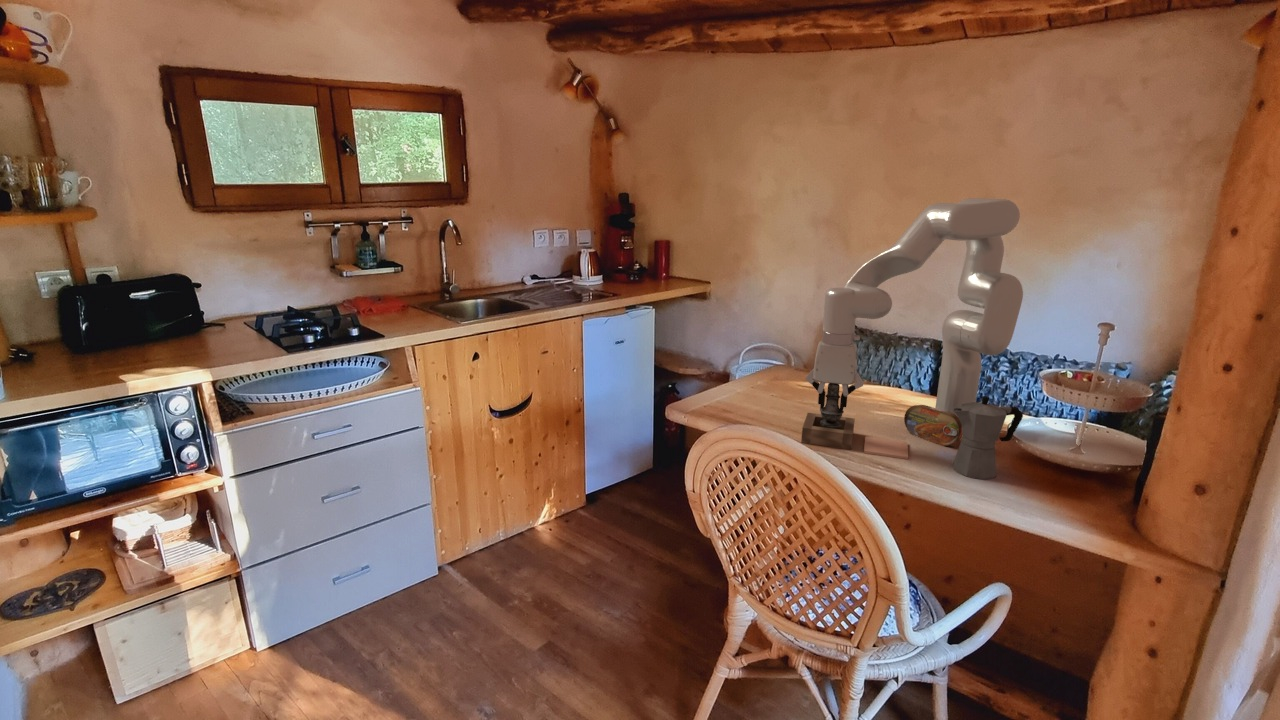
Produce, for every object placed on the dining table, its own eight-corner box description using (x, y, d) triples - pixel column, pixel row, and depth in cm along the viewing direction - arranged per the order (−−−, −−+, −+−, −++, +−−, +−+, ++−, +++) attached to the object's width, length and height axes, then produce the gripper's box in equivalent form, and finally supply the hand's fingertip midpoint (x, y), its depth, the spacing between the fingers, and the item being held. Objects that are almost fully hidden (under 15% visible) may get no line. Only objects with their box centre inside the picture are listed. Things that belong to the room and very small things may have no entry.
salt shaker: (814, 421, 167) (817, 376, 164) (833, 418, 169) (837, 374, 165) (827, 429, 161) (831, 383, 158) (847, 426, 163) (851, 381, 160)
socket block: (853, 432, 169) (854, 418, 168) (851, 449, 158) (852, 434, 157) (806, 426, 173) (807, 412, 172) (801, 442, 162) (802, 427, 161)
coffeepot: (954, 479, 143) (966, 402, 138) (936, 462, 152) (946, 389, 147) (1024, 480, 143) (1038, 403, 138) (1001, 462, 152) (1013, 390, 147)
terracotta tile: (906, 444, 162) (907, 441, 162) (907, 459, 153) (908, 456, 153) (864, 438, 166) (865, 436, 165) (863, 452, 157) (863, 450, 156)
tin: (901, 431, 171) (905, 401, 169) (909, 429, 173) (912, 399, 170) (955, 450, 159) (960, 418, 157) (962, 448, 161) (967, 416, 158)
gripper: (874, 338, 159) (867, 407, 164) (805, 332, 165) (800, 399, 170) (872, 344, 153) (865, 417, 157) (800, 338, 159) (796, 408, 164)
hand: (831, 407), depth 164 cm, fingers closed on salt shaker, 4 cm apart
